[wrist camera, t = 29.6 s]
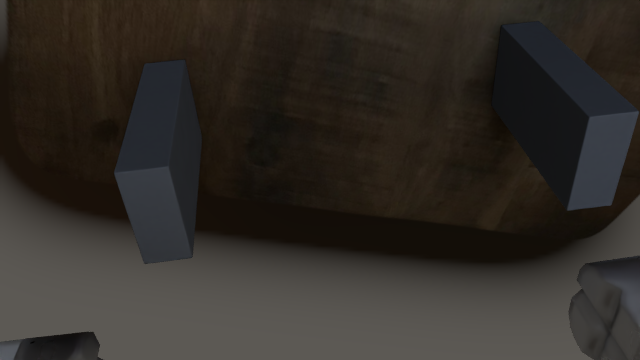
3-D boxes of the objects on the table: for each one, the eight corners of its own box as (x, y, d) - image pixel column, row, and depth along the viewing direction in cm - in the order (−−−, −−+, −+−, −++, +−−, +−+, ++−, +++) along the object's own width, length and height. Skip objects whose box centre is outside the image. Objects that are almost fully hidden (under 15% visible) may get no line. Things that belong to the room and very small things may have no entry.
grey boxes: (165, 142, 48) (144, 264, 37) (144, 63, 44) (113, 173, 32) (526, 101, 50) (611, 205, 38) (539, 20, 45) (639, 111, 34)
